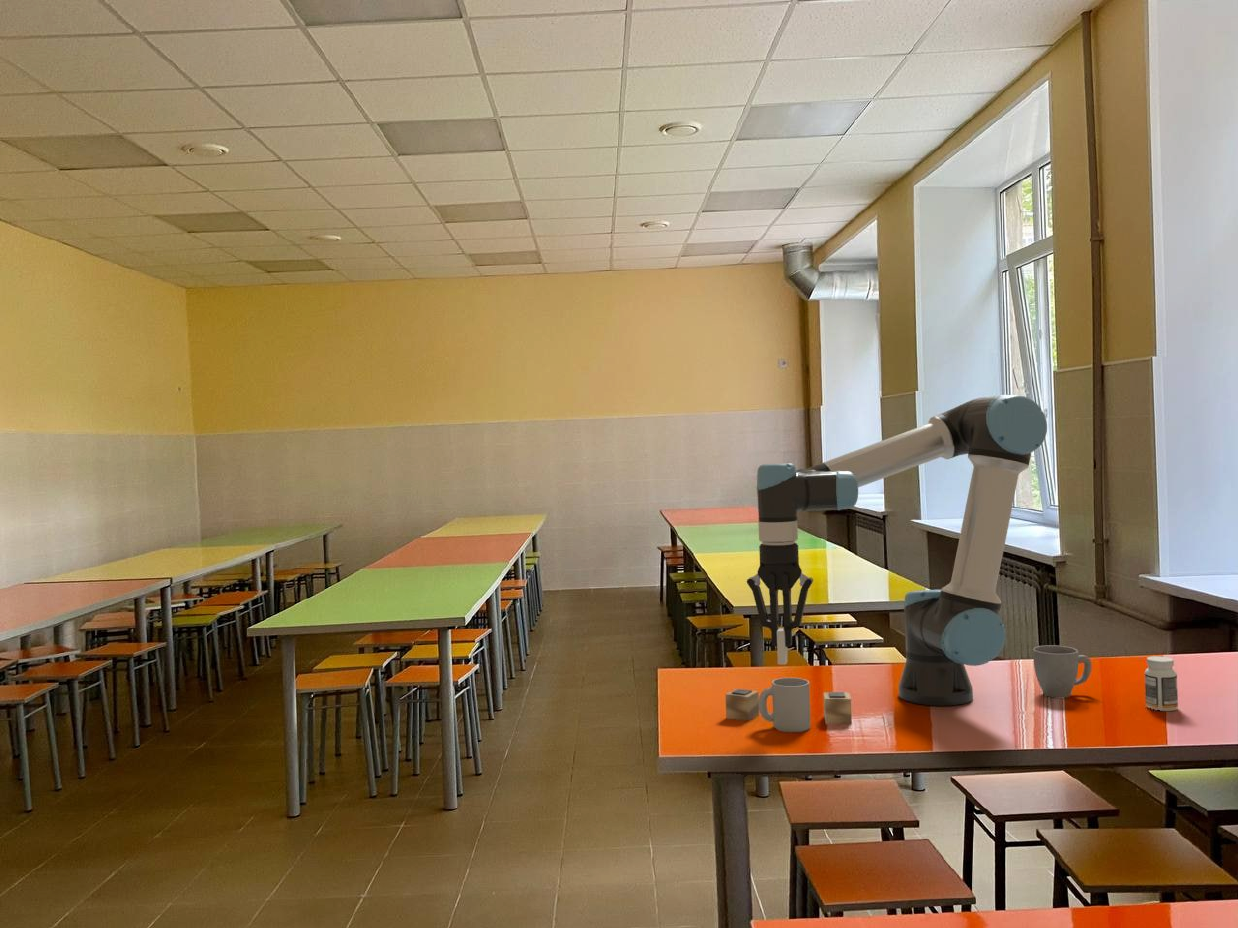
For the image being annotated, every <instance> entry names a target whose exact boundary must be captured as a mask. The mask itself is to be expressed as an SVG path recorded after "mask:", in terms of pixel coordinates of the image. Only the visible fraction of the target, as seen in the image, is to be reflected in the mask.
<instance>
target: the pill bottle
mask: <svg viewBox="0 0 1238 928" xmlns="http://www.w3.org/2000/svg"><path fill="white" fill-rule="evenodd" d="M1174 661H1175V660H1174V659H1173V657H1172V658H1171V657H1167V656H1155V655H1154V656H1149V657H1146V665H1147V666H1148V667H1147V668H1146V669H1145V671H1144V691H1145V692H1144V695H1145V706H1146V708H1148V709H1150V708H1151V709H1150V710H1153V709H1154V710H1153V711H1157V710H1160V711H1159V712H1172V711H1176V710H1178V708H1179V700H1178V698H1179V697H1178V674H1177V671H1175V670H1174V669H1173V667H1174V665H1175V662H1174Z"/></svg>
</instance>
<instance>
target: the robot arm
mask: <svg viewBox="0 0 1238 928" xmlns="http://www.w3.org/2000/svg"><path fill="white" fill-rule="evenodd" d="M1047 432H1048V423H1047V419H1046V415H1045V413H1044V411H1043V410H1042V409H1041V407H1040V405H1039V404H1038V403H1037V402H1035V400H1033V399H1032V398H1029V397H1027V396H1024V395H1020V394H1008V393H1006V394H1002V395H995V396H986V397H983V396H982V397H978V398H973V399H971V400H969V401H966V402H964V403H962V404H960V405H958V406H955V407H954V408H951V409H948V410H946V411H944V412H942V413H940V414H936V415H934V416H932V417H930V418H929V420H928V422H927V423H926V424H924V425H921V426H919V427H915V428H912V429H910V430H907V431H905V432H903V433H899V434H896V435H893V436H891V437H889V438H887V439H886V438H885V439H883V440H880V441H878V442H875V443H872V444H870V445H867V446H865V447H862V448H859V449H857V450H854V451H851V452H849V453H845V454H843V455H840V456H837V457H834V458H831V459H829V460H825V461H824V462H822V463H818V464H816V465H813V466H810V467H807V468H804V469H803V468H798V469H796V465H795V464H794V463H765V464H761V465H760V466H759V467H758V468H757V475H756V493H757V511H758V541H759V542H761V544H759V545H758V546H759V549H758V550H759V552H758V553H759V567H758V569H757V573H756V574H754V575H753V576H750V577H748V579H747V580H746V583H747V585H748V587H749V588H750V589H751V591H752V595H753V598H754V602H755V605H756V606H755V607H756V610H757V613H758V617H759V621H760V624H761V626H762V627H763V628H767V629H769V630H770V633H771V645H772V647H776V649H777V650H776V651H777V665H783V666H784V665H786V664H787V663H788V661H789V660H788V647H789V648H790V647H791V646H792V645H793V630H794V629H796V628H799V627H800V626H801V624H802V620H803V615H804V610H805V607H806V601H807V598H808V591H809V589H810V588H811V586H812V584H813V582H814V579H813V578H812V577H811V576H810V577H808V576H807V575H806V574H804V573H803V570H802V569H801V566H800V562H799V561H800V559H799V545H798V543H797V542H796V541H797V540H799V536H798V535H799V534H798V531H799V529H798V512H805V511H831V510H832V511H833V510H835V511H836V510H837V511H841V510H848V509H852V508H854V507H855V506H856V504H857V502H858V499H859V488H861V487H863V486H867V485H870V484H872V483H874V482H877V481H879V480H883V479H885V478H888V477H890V476H893V475H896V474H899V473H902V472H904V471H906V470H910V469H912V468H915V467H917V466H920V465H923V464H926V463H929V462H931V461H933V460H937V459H939V458H942V459H944V460H950V459H953V458H955V457H958V456H964V455H967V458H968V460H969V461H970V462H971V464H972V465H973V469H972V474H971V478H970V483H969V484H970V485H969V490H968V494H967V499H966V504H965V509H964V513H963V514H964V515H963V519H962V524H961V525H962V526H961V529H960V534H959V539H958V544H957V550H956V555H955V559H954V564H953V568H952V569H953V570H952V575H951V579H950V582H949V583H948V584H946V585H945V586H943V587H941V589H924V590H913V591H911V590H910V591H908V592H907V593H906V594H905V596H904V604H903V605H904V606H903V611H904V634H905V637H904V638H905V663H904V666H903V669H902V673H901V677H900V679H899V680H900V681H899V683H898V697H900V699H902V700H904V701H905V702H909V703H913V704H919V705H926V706H937V707H938V706H941V707H943V706H944V707H945V706H946V707H947V706H958V705H964V704H967V703H969V702H972V700H974V689H973V685H972V683H971V680H970V677H969V675H968V674H969V673H968V671H967V669H966V666H971V667H974V666H975V667H977V666H982V665H983V666H984V665H987V664H988V663H989V662H991V661H993V660H994V659H995V658H997V656H999V655H1000V652H1002V650H1003V648H1004V646H1005V644H1006V640H1007V630H1006V627H1005V624H1004V622H1003V621H1002V619H1001V617H1000V614H1001V613H1000V612H1001V609H1002V599H1000V597H999V596H998V594H997V584H998V580H999V575H1000V570H1001V564H1002V559H1003V556H1004V550H1005V545H1006V539H1007V534H1008V531H1009V525H1010V519H1011V514H1012V510H1013V509H1012V508H1013V505H1014V499H1015V495H1016V489H1017V486H1018V485H1017V484H1018V479H1019V475H1020V474H1021V473H1022V472H1023V471H1025V470H1026V469H1028V468H1029V466H1030V462H1031V457H1032V453H1033V452H1034V451H1036V450H1037V449H1038V448H1039V447H1041V445H1042V444H1043V443H1044V441H1045V439H1046V437H1047ZM798 580H799V585H800V587H801V588H800V590H799V595H798V600H797V605H796V609H795V613H794V619H793V618H792V617H793V615H792V614H793V613H792V588H793V587H794V586H795V584H796V583H797V582H798ZM761 581H762V583H764V585H765V587H766V588H767V589H768V593H769V594H768V595H769V613H770V615H769V614H768V610H767V607H766V604H765V601H764V595H763V592H762V589H761V586H760V585H761ZM779 591H781V592H782V604H783V605H782V606H783V607H782V608H783V611H782V612H783V628H780V622H779V621H780V620H779V619H780V618H779ZM769 617H770V619H769Z"/></svg>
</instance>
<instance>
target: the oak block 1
mask: <svg viewBox="0 0 1238 928" xmlns="http://www.w3.org/2000/svg"><path fill="white" fill-rule="evenodd" d="M759 696H760V695H759V691H758V690H751V689H742V688H735V689H732V690H731V691H729V692H727V693H726V694H725V718H726V719H729V720H736V721H742V722H743V721H744V722H750V721H752V720H753V719H755V718H756V717H758V716H760V712H759V707H758V701H759Z"/></svg>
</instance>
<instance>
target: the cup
mask: <svg viewBox="0 0 1238 928" xmlns="http://www.w3.org/2000/svg"><path fill="white" fill-rule="evenodd" d="M810 695H811V694H810V681H809V680H808V679H804V678H799V677H781V678H776V679H773V680H772V681H771V687H769V686H768V687H767V688H764V689H763V690H762V691H761V692H760V693H759V695H758V696H759V701H758V707H759V715H760V716H761V717H762V718H763V719H764V720H765V721H768V722H770V723H773V724H772V725H773V727H774V728H775V730H777V731H780V732H783V733H802V732H806V731H809V730H810V728H811V698H810V697H811V696H810ZM771 696H772V712H771V713H770V712H769V710H768V706H767V705H768V704H767V703H768V702H767V701H768V697H771Z"/></svg>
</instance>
